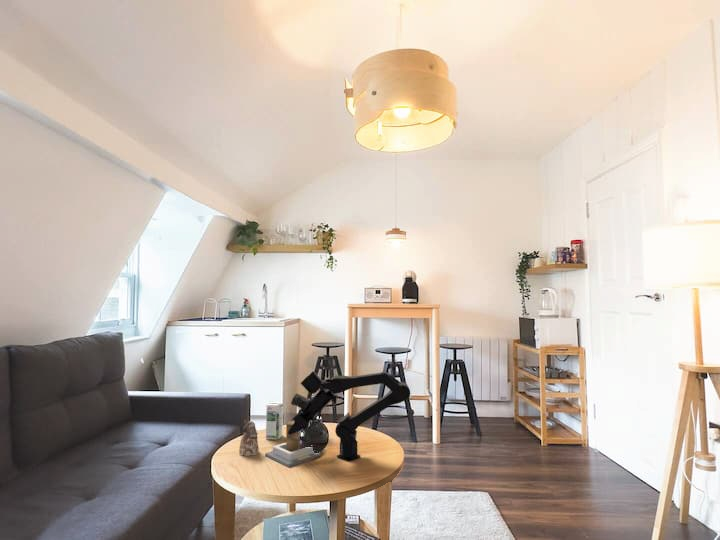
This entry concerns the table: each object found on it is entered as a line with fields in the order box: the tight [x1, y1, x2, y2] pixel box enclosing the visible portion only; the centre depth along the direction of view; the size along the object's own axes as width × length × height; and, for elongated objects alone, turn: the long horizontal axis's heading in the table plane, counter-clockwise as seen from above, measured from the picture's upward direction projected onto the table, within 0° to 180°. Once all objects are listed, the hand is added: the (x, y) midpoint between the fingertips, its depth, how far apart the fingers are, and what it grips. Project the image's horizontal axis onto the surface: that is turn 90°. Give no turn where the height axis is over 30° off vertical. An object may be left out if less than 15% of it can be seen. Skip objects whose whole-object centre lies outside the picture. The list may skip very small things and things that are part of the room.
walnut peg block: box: [285, 420, 301, 452], centre depth 155 cm, size 4×4×10 cm
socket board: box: [264, 442, 322, 468], centre depth 154 cm, size 15×15×4 cm
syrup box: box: [265, 401, 284, 441], centre depth 176 cm, size 6×6×14 cm
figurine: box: [238, 420, 259, 457], centre depth 158 cm, size 7×7×12 cm
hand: (290, 431), depth 155 cm, fingers closed on walnut peg block, 4 cm apart
